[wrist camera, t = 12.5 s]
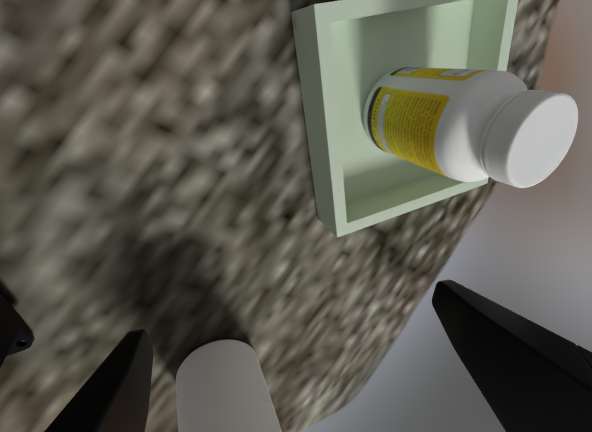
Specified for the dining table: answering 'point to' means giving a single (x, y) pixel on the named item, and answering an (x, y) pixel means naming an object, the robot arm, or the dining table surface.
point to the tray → (361, 79)
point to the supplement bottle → (471, 124)
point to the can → (223, 391)
